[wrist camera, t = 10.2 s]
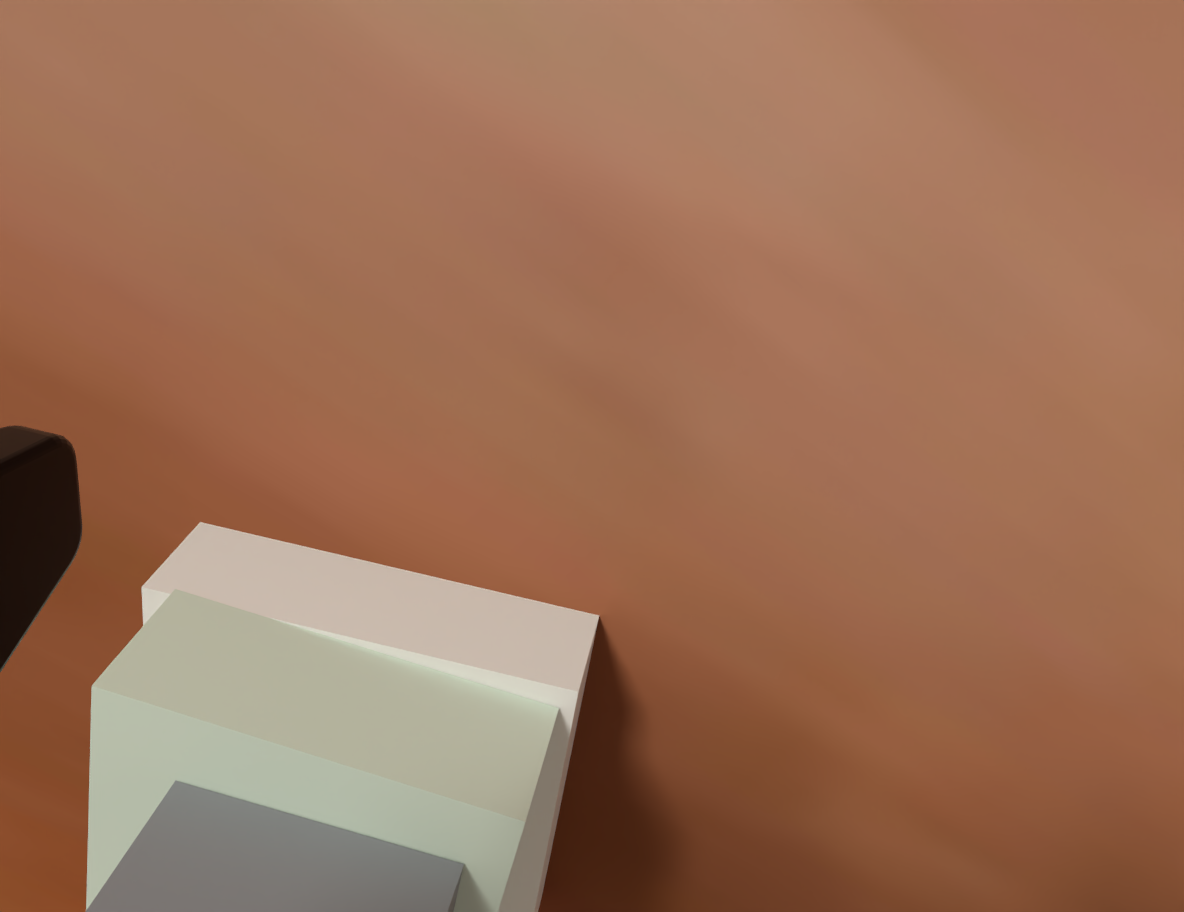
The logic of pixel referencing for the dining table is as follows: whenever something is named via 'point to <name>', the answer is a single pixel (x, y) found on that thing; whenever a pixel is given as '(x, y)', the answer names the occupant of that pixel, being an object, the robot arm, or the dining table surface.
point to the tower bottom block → (410, 641)
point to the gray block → (267, 864)
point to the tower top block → (311, 741)
